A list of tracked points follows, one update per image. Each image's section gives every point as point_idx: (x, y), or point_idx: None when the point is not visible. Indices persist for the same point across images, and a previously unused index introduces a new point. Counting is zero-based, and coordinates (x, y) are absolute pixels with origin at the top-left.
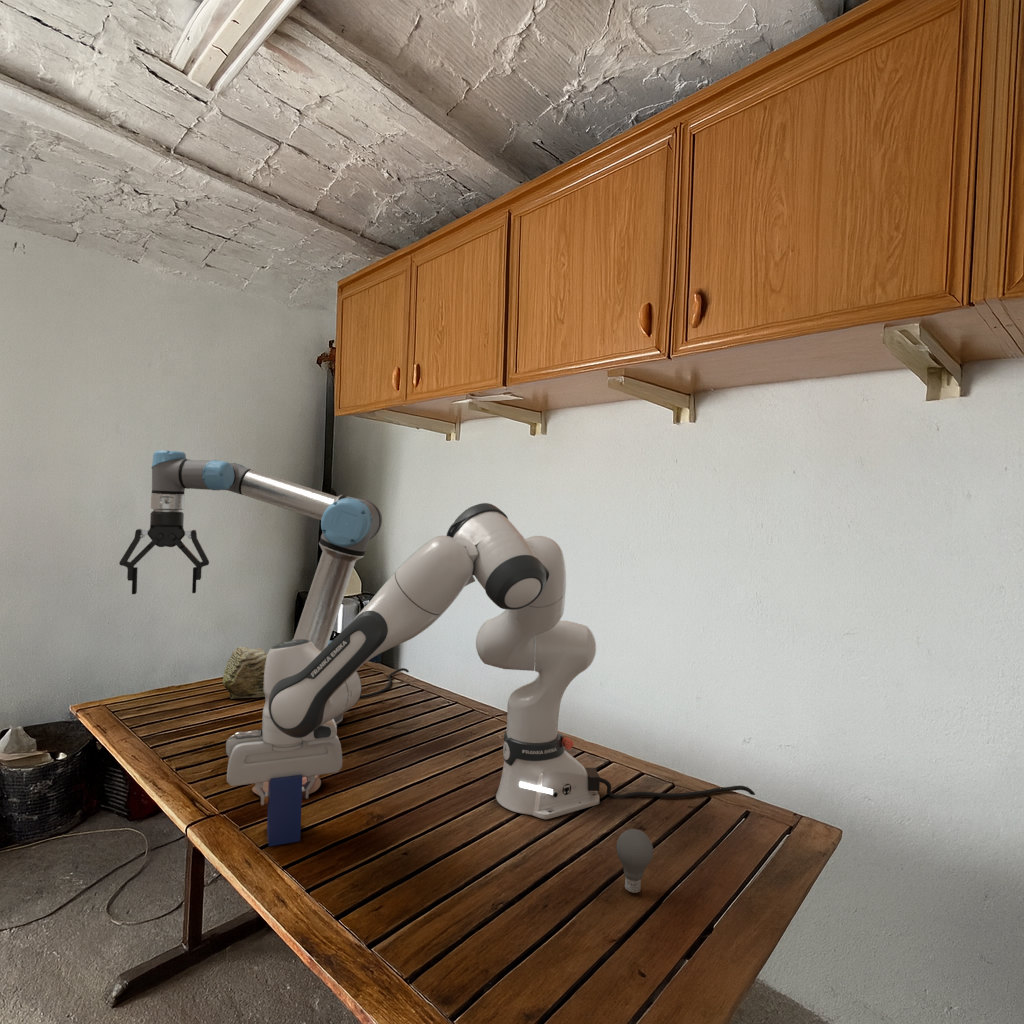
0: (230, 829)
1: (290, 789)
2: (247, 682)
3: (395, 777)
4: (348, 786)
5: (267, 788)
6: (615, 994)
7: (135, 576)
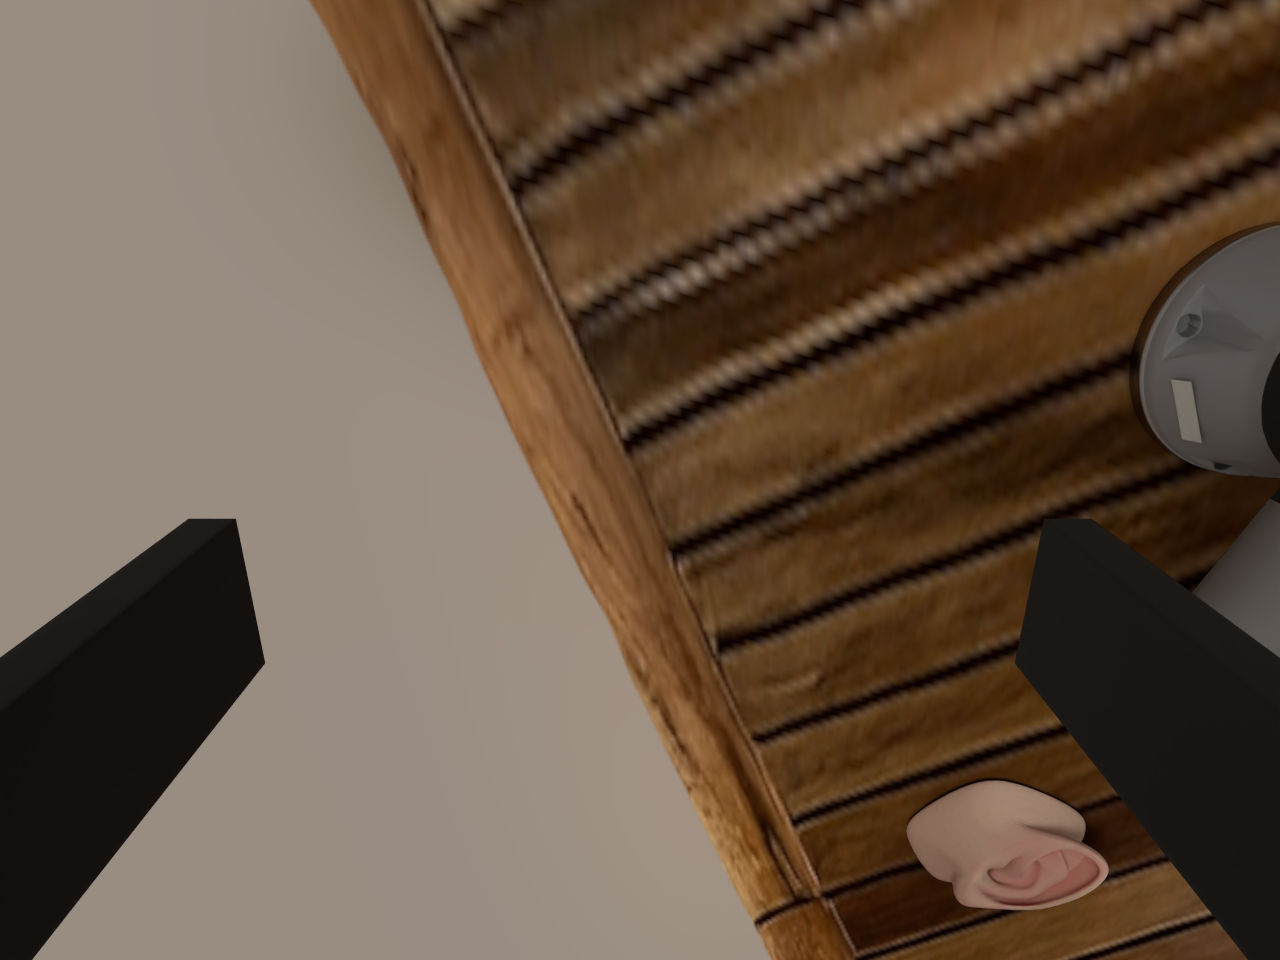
0: (837, 957)
1: None
2: None
3: None
4: (1139, 860)
5: (943, 864)
6: None
7: (87, 887)
